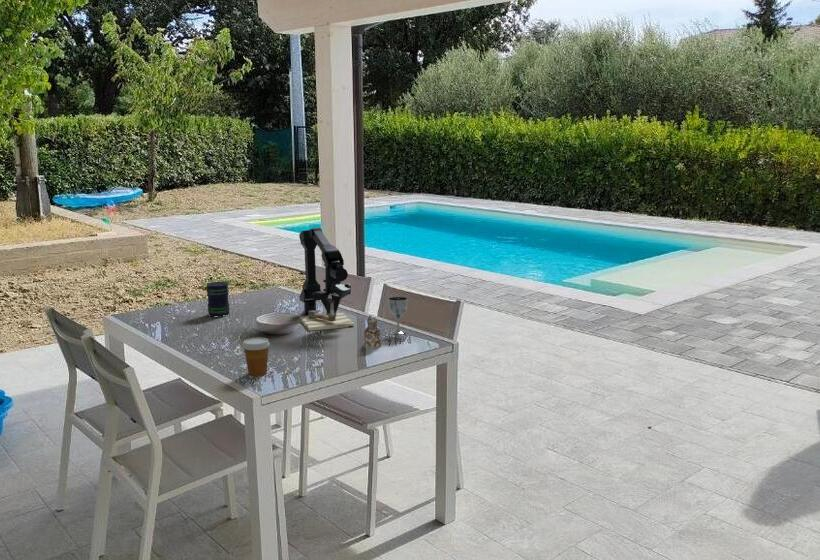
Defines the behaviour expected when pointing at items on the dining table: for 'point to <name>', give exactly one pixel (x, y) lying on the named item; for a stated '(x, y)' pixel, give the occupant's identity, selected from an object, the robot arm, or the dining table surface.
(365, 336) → the figurine
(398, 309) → the wine glass
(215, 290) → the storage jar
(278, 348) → the dining table surface
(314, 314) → the lever
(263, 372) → the disposable coffee cup
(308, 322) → the nutcracker base
